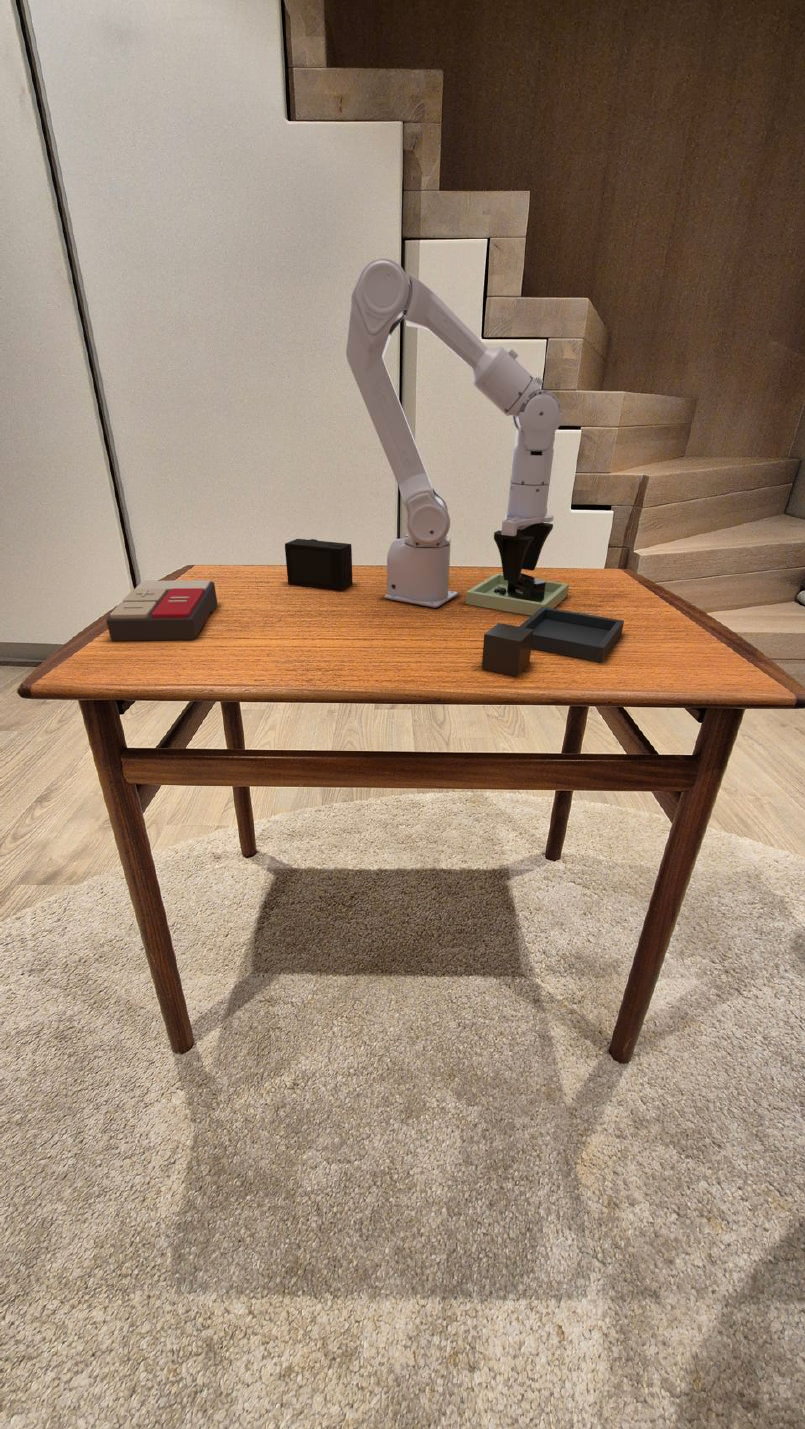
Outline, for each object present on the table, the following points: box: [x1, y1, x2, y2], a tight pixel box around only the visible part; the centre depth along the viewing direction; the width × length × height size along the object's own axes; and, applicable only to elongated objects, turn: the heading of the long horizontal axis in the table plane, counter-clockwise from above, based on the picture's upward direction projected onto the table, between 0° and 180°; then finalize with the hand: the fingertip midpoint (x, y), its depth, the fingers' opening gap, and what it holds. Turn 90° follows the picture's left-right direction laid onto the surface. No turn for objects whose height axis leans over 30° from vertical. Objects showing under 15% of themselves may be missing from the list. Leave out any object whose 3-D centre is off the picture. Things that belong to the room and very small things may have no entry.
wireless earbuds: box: [494, 572, 547, 602], centre depth 94 cm, size 5×7×3 cm, turn 32°
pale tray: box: [465, 573, 570, 617], centre depth 96 cm, size 13×13×2 cm
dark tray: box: [518, 607, 625, 663], centre depth 80 cm, size 12×12×2 cm
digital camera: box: [284, 538, 354, 592], centre depth 101 cm, size 10×5×7 cm, turn 69°
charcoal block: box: [481, 622, 533, 678], centre depth 72 cm, size 4×4×4 cm
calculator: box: [105, 579, 218, 642], centre depth 84 cm, size 11×4×15 cm
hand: (519, 574), depth 94 cm, fingers open, 7 cm apart
